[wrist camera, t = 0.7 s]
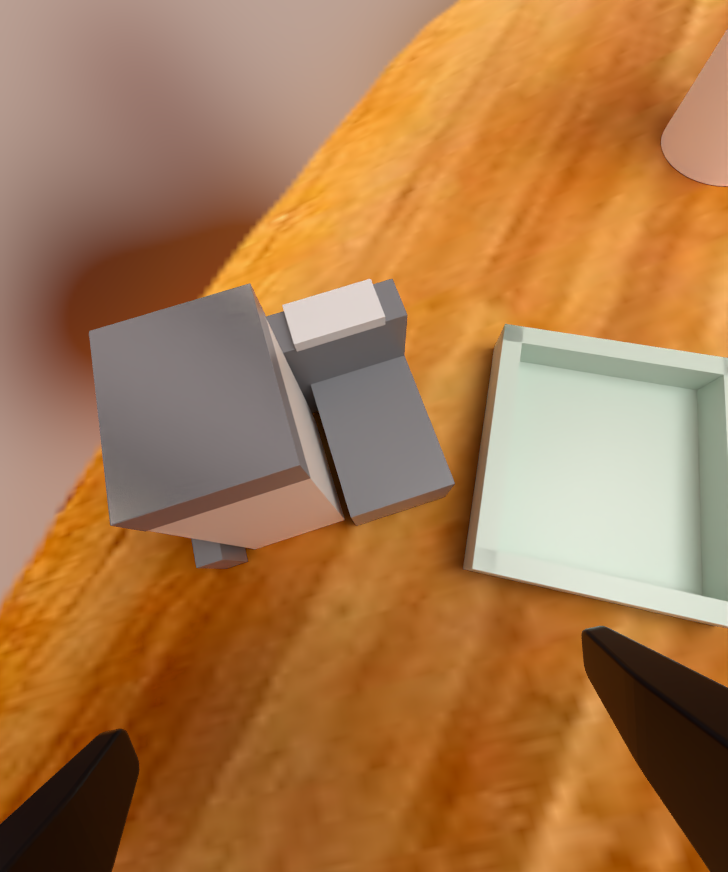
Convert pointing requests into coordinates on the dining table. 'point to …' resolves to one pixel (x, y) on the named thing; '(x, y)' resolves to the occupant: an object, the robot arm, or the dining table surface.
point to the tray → (605, 473)
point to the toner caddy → (208, 426)
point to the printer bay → (358, 404)
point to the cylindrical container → (702, 124)
